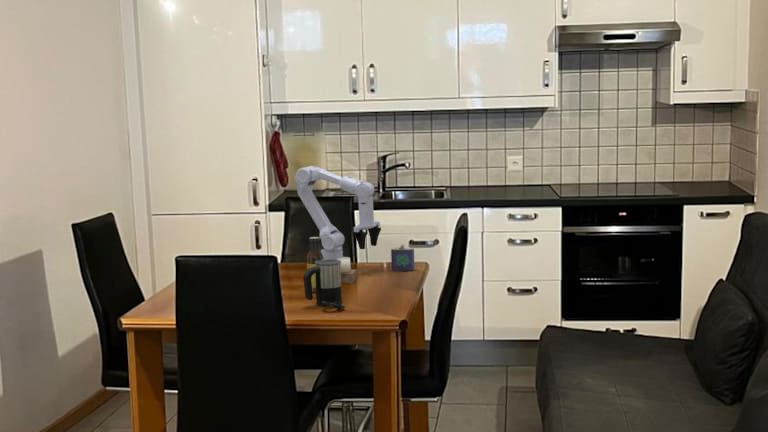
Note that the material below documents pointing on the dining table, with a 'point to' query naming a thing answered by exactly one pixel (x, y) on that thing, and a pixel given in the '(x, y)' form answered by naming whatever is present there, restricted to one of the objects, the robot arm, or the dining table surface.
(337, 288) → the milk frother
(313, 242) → the sauce bottle
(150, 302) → the dining table surface
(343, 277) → the block
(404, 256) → the flask
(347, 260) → the cup
